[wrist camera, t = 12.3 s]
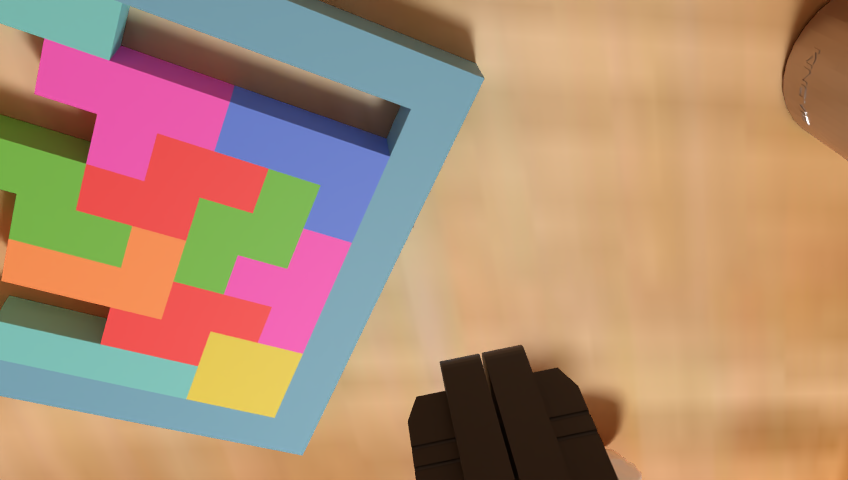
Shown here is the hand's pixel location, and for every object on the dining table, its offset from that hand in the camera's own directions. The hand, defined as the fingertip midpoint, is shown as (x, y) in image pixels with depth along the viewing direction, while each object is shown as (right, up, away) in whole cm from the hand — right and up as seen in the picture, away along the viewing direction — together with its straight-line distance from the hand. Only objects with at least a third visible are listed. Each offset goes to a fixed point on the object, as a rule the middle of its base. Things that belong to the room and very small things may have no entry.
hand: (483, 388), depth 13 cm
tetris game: (-17, +5, +27) cm, 32 cm away
